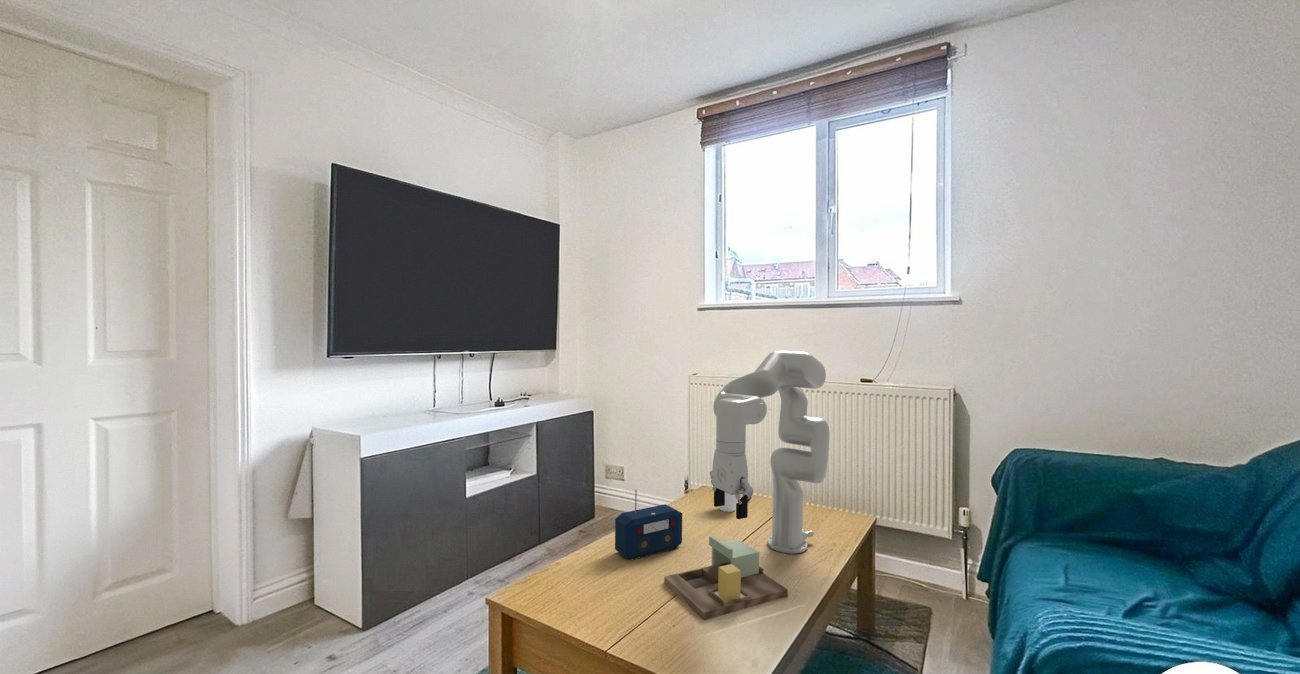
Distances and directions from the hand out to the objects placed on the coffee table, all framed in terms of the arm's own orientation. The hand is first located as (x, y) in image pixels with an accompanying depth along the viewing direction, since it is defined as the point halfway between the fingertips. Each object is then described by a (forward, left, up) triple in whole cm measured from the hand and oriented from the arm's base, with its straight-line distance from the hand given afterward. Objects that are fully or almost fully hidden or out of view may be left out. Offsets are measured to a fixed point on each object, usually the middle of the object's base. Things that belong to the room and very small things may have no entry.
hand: (730, 511), depth 135 cm
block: (+2, +3, -20) cm, 21 cm away
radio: (+6, -35, -23) cm, 42 cm away
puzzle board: (-1, -4, -23) cm, 23 cm away
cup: (-38, -55, -23) cm, 70 cm away
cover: (-8, -9, -20) cm, 23 cm away
